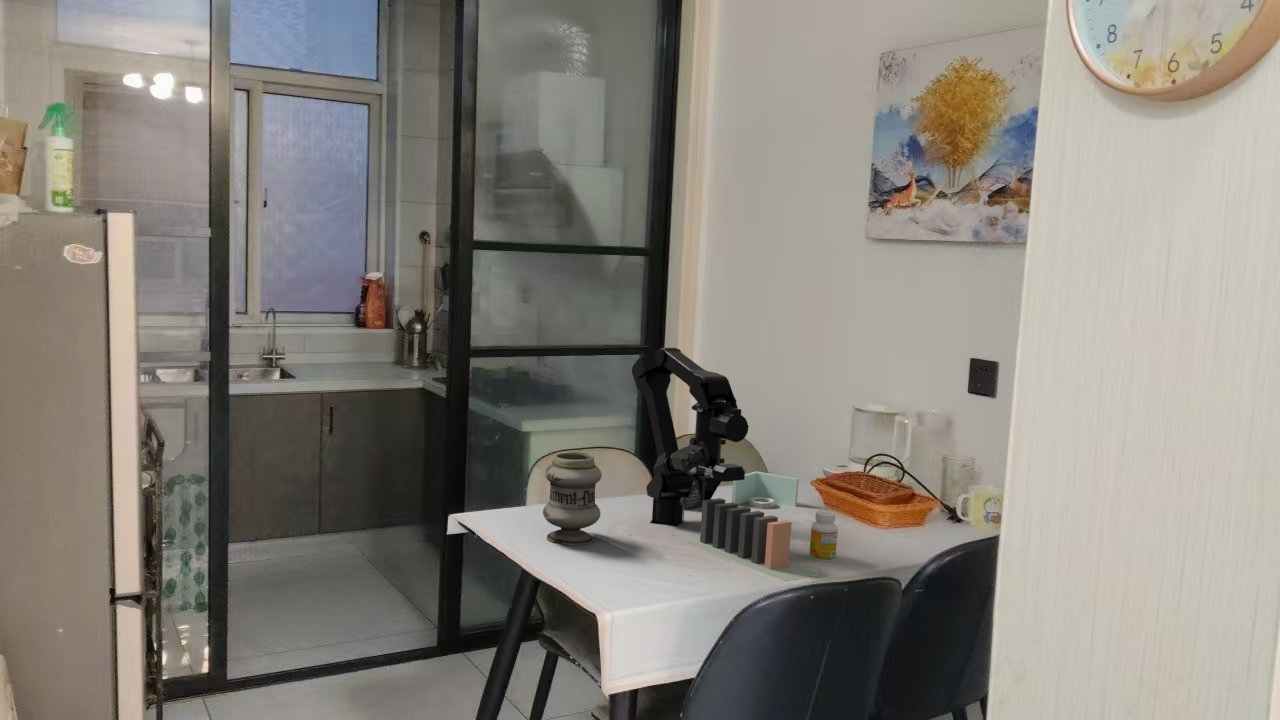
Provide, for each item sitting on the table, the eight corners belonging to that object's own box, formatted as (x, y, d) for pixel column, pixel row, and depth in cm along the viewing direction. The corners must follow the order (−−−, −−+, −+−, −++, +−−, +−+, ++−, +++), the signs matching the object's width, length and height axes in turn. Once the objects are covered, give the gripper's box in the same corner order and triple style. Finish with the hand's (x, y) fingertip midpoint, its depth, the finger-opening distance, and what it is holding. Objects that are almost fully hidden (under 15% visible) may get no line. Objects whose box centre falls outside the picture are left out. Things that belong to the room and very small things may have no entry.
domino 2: (712, 546, 220) (715, 504, 219) (730, 543, 223) (733, 502, 222) (717, 548, 219) (720, 506, 218) (735, 545, 222) (738, 504, 221)
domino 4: (737, 556, 214) (740, 513, 213) (755, 553, 217) (758, 510, 216) (742, 558, 213) (745, 515, 212) (761, 555, 215) (764, 512, 215)
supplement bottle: (806, 555, 220) (809, 509, 219) (831, 555, 220) (834, 510, 219) (812, 562, 215) (816, 516, 214) (838, 563, 215) (841, 517, 214)
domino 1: (700, 541, 223) (702, 500, 222) (717, 539, 226) (720, 498, 225) (704, 543, 222) (707, 502, 221) (722, 541, 225) (725, 499, 224)
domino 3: (724, 551, 217) (727, 508, 216) (742, 548, 220) (745, 506, 219) (729, 553, 216) (732, 510, 215) (747, 550, 219) (750, 508, 218)
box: (684, 510, 253) (686, 467, 252) (667, 505, 257) (670, 462, 256) (706, 506, 258) (708, 463, 257) (689, 501, 262) (692, 459, 261)
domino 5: (751, 562, 211) (754, 518, 210) (769, 558, 214) (772, 515, 213) (756, 564, 209) (759, 519, 208) (774, 560, 212) (777, 517, 211)
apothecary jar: (531, 541, 218) (535, 455, 216) (557, 528, 229) (561, 447, 228) (584, 550, 214) (589, 463, 212) (607, 536, 225) (612, 454, 223)
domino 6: (764, 567, 207) (767, 522, 206) (782, 564, 210) (786, 520, 209) (770, 569, 206) (773, 524, 205) (788, 566, 209) (791, 522, 208)
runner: (685, 543, 223) (685, 541, 223) (721, 538, 229) (721, 536, 229) (784, 583, 199) (785, 581, 199) (821, 576, 205) (822, 574, 205)
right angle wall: (731, 507, 261) (733, 477, 260) (754, 500, 271) (756, 471, 270) (774, 516, 254) (776, 486, 253) (796, 508, 264) (798, 479, 263)
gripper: (652, 428, 227) (648, 499, 229) (707, 443, 212) (703, 519, 214) (692, 426, 234) (688, 495, 235) (748, 440, 219) (744, 514, 220)
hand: (704, 505), depth 226 cm, fingers closed
